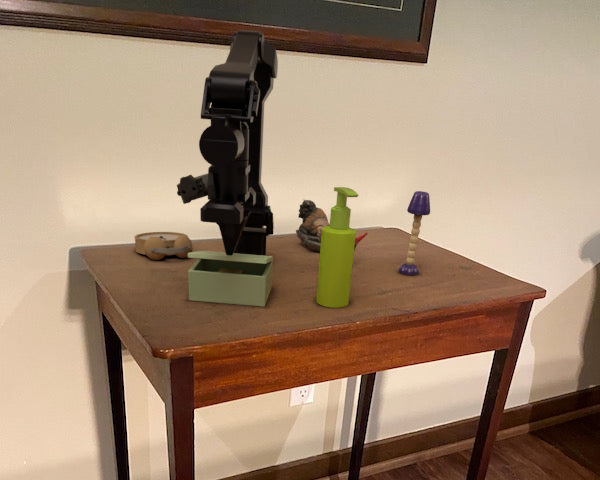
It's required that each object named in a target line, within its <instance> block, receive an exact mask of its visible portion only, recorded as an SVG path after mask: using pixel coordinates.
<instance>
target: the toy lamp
mask: <svg viewBox="0 0 600 480" xmlns="http://www.w3.org/2000/svg"><path fill="white" fill-rule="evenodd" d="M430 200H431V199H430V193H429V192H427V191H421V190H415V192H414V193H413V195H412V196H411V199H410V201H409V204H408V207H407V209H406V211H407V213H408V214H411V215H413V221H412V228H411V232H410V233H411V234H410V238H409V243H408V250H407V257H406V259H405V263H403V264H402V265H400V266H399V268H398V273H400V274H401V275H405V276H418V275H419V274H420V273H419V268H418V266H417V265H415V264H414V263H415V256H416V254H417V253H416V250H417V248H418V242H419V235H420V231H421V229H420V228H421V226H422V220H423V216H429V215H430V214H431V201H430Z"/></svg>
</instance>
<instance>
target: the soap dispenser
mask: <svg viewBox="0 0 600 480" xmlns="http://www.w3.org/2000/svg"><path fill="white" fill-rule="evenodd" d="M333 191H334V192H336V202H335V203H336V205H333V206H331V208H330V214H329V225H330V226H325V227H323V228H322V234H321V247H320V251H319V262H318V274H317V286H316V288H317V289H316V298H315V302H316V304H317V305H319V306H323V307H325V308H332V309H333V308H334V309H340V308H345V307H347V306H348V305H349V302H350V293H351V282H352V276H353V275H352V274H353V264H354V263H353V262H354V256H355V250H354V246H355V238H357V237H356V235H357V230H356V229H354V228H352V227H350V222H351V212H352V210H351V208H350V207H349V206H348V205H347V204H348V203H347V202H348V198H358V197H359V194H358V192H357V191H355V190H354V189H352V188H350V187H345V186H337V187H336V186H335V187H333Z"/></svg>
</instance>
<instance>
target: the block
mask: <svg viewBox="0 0 600 480" xmlns="http://www.w3.org/2000/svg"><path fill="white" fill-rule="evenodd" d="M219 272H221V273H233V274H243V270H240V269H228V268H221V269H220V270H219Z"/></svg>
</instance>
